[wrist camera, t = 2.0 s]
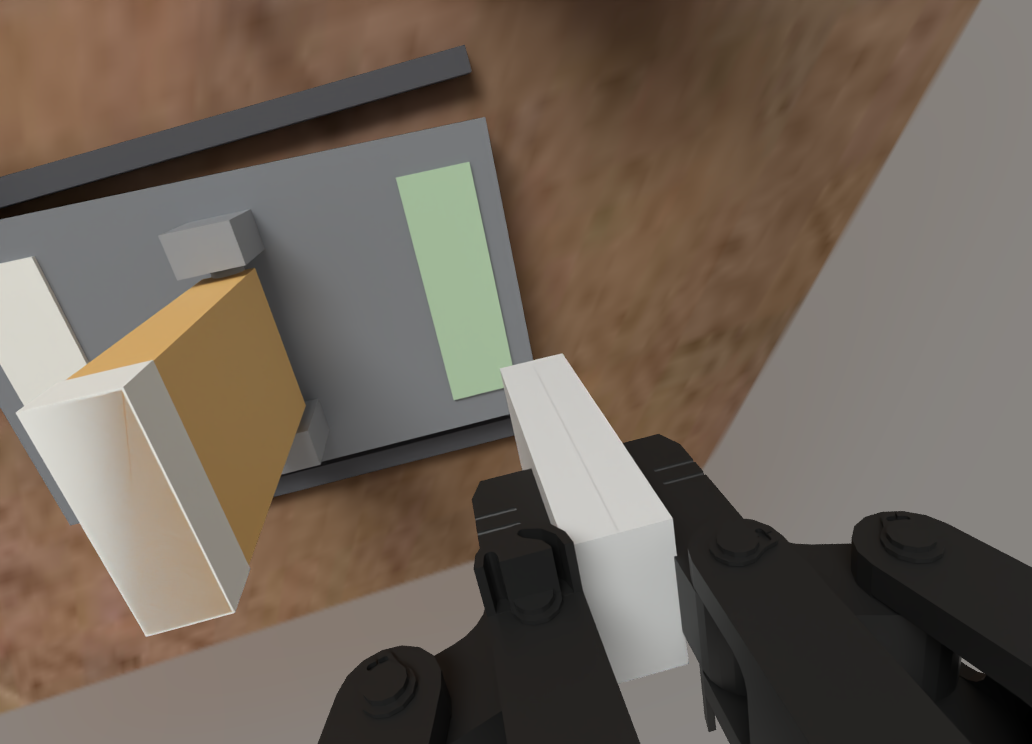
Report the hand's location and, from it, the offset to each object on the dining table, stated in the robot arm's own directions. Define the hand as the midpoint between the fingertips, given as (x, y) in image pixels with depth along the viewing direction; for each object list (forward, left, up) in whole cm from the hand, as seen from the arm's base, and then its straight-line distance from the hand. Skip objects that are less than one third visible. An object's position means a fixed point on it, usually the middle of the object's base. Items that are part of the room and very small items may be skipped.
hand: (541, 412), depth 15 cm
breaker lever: (-9, 0, -12) cm, 15 cm away
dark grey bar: (-9, +8, -16) cm, 20 cm away
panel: (-9, 0, -16) cm, 18 cm away
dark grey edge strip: (-9, -8, -16) cm, 20 cm away
